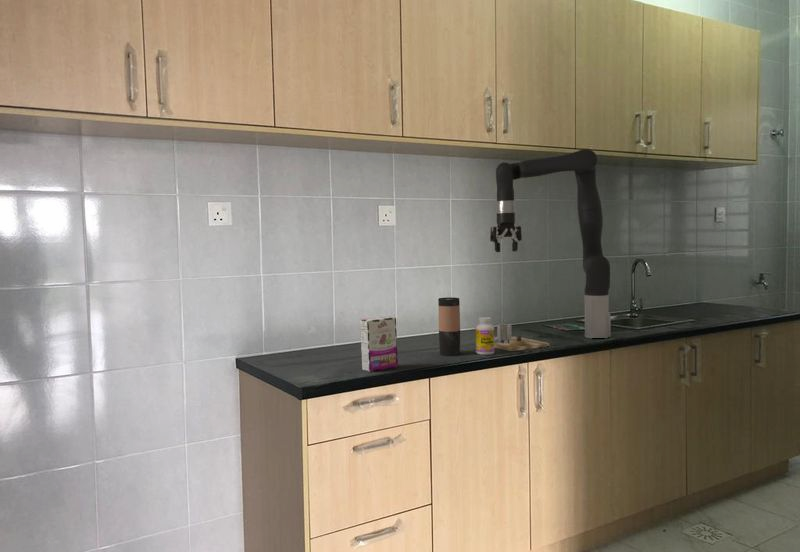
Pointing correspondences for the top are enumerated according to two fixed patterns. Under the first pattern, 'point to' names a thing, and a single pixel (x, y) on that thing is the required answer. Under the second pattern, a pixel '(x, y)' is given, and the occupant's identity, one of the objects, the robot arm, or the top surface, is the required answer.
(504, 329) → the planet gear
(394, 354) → the candy bar box
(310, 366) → the top surface
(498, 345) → the carrier board
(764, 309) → the top surface
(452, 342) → the travel mug
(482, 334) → the supplement bottle
